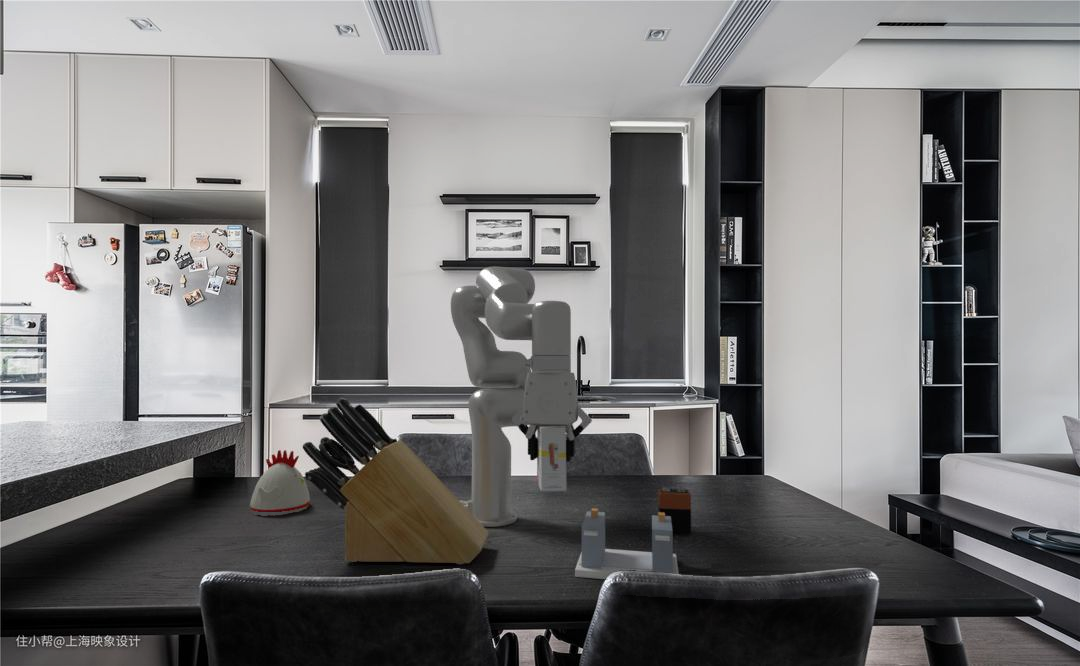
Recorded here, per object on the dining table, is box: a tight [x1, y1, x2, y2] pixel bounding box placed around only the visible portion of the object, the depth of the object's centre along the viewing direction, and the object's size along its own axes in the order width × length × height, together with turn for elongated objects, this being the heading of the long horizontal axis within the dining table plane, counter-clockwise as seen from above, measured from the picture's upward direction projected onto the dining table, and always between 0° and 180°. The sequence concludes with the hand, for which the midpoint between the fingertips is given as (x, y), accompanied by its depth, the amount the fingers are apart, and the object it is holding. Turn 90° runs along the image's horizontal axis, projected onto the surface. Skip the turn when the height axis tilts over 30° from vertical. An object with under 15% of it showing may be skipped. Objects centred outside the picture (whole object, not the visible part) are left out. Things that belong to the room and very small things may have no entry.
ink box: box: [536, 425, 568, 492], centre depth 103 cm, size 9×5×12 cm, turn 5°
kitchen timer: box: [249, 449, 311, 512], centre depth 140 cm, size 14×14×15 cm
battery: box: [657, 486, 692, 536], centre depth 122 cm, size 4×7×10 cm, turn 83°
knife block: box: [302, 397, 490, 565], centre depth 107 cm, size 11×35×31 cm, turn 87°
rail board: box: [574, 507, 680, 580], centre depth 100 cm, size 18×12×10 cm, turn 78°
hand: (551, 458), depth 103 cm, fingers closed on ink box, 6 cm apart
